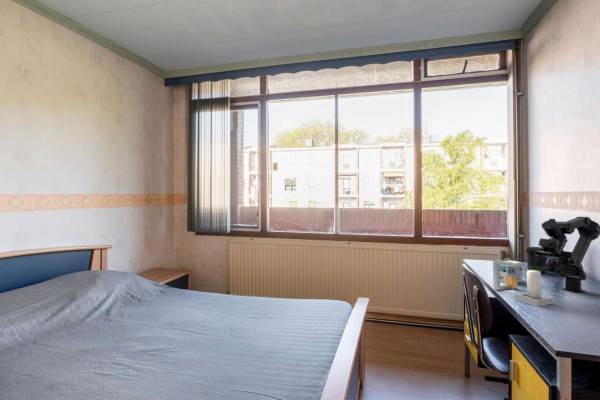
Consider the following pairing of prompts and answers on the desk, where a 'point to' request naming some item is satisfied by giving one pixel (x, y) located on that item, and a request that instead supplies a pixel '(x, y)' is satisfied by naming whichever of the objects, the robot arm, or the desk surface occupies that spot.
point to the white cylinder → (534, 284)
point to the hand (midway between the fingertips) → (543, 269)
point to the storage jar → (538, 263)
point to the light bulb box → (511, 271)
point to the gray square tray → (534, 300)
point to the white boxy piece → (510, 280)
